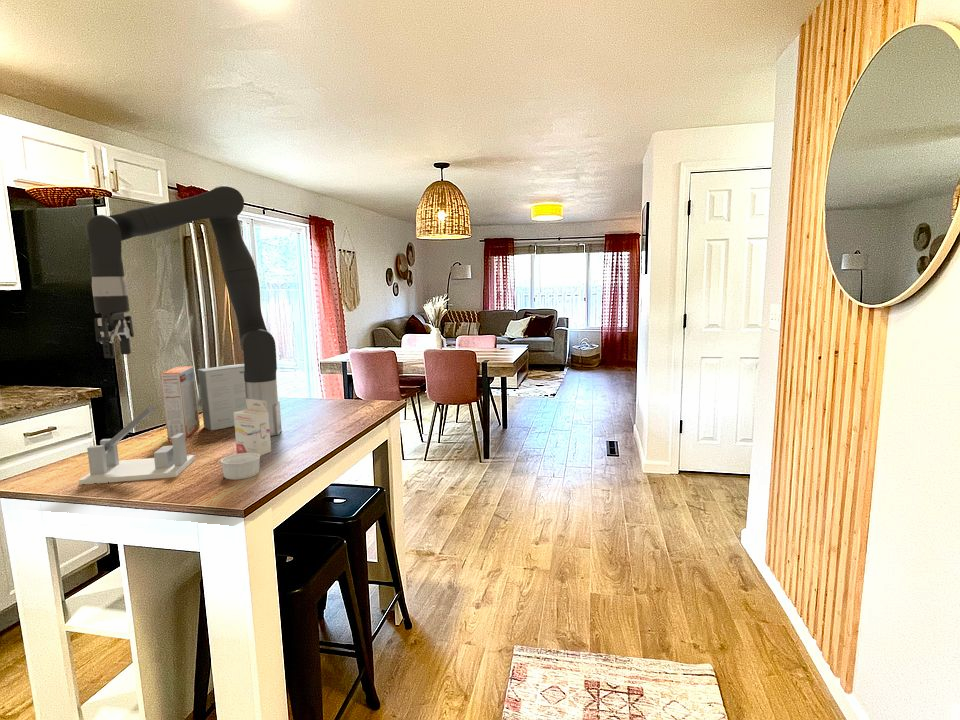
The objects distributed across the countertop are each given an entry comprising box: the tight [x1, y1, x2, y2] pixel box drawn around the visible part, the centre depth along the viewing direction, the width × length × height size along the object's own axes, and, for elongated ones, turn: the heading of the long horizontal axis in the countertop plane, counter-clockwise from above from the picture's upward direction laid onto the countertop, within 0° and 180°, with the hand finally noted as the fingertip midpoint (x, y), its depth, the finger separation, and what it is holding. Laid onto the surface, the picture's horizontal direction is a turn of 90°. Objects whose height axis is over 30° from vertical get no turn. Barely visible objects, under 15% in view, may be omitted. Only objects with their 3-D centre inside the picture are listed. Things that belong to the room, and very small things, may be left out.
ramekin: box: [220, 453, 261, 481], centre depth 129 cm, size 9×9×4 cm
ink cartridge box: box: [234, 399, 272, 457], centre depth 145 cm, size 9×5×15 cm, turn 65°
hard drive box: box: [197, 363, 247, 432], centre depth 177 cm, size 16×8×20 cm, turn 133°
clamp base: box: [78, 433, 196, 486], centre depth 132 cm, size 21×14×9 cm, turn 101°
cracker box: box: [159, 365, 201, 441], centre depth 167 cm, size 14×6×21 cm, turn 13°
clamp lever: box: [104, 404, 157, 454], centre depth 131 cm, size 17×4×2 cm
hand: (118, 356), depth 139 cm, fingers open, 8 cm apart
